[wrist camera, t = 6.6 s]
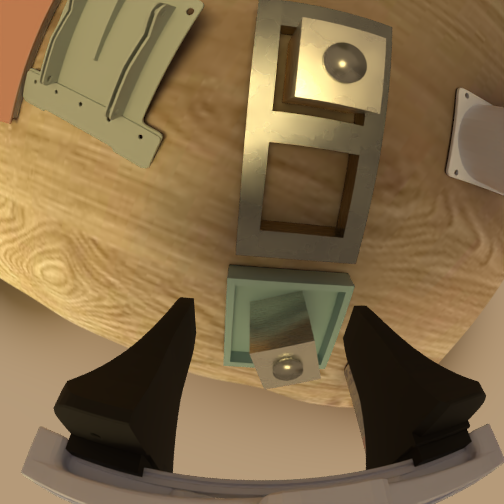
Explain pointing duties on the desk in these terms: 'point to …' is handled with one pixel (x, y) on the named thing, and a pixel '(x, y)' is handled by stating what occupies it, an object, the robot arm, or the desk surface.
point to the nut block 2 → (334, 68)
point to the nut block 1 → (282, 341)
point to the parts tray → (279, 283)
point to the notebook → (20, 47)
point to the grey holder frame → (306, 134)
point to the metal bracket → (111, 68)
